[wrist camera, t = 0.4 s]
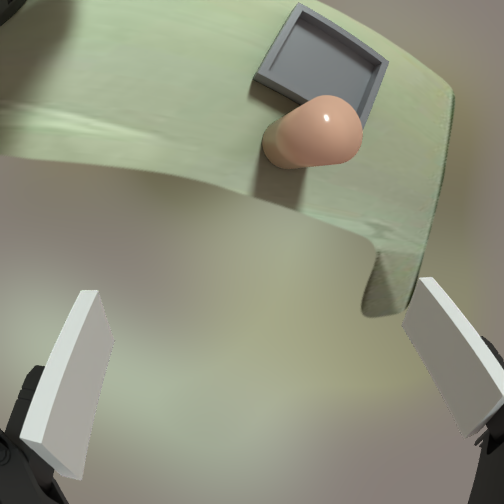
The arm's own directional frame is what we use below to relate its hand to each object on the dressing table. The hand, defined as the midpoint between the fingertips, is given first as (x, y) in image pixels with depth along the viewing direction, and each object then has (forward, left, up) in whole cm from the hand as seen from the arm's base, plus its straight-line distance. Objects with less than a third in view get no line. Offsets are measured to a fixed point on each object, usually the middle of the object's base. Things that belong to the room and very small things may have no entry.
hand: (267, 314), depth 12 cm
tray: (-15, +21, -26) cm, 37 cm away
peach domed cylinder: (-6, +13, -26) cm, 30 cm away
